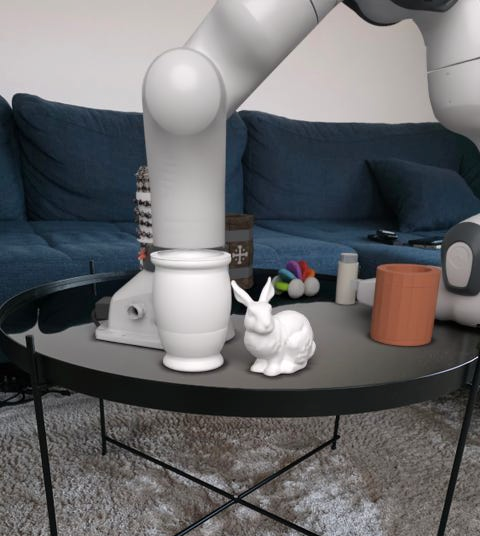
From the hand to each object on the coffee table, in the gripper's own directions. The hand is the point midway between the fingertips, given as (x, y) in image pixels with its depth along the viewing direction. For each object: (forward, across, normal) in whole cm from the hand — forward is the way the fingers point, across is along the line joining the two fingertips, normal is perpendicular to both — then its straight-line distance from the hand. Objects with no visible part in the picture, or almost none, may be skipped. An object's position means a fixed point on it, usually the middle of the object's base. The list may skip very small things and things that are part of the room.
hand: (368, 280), depth 114 cm
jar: (-7, +47, +5) cm, 48 cm away
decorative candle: (+30, +28, +5) cm, 41 cm away
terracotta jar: (-17, +13, +5) cm, 23 cm away
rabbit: (-15, +40, +5) cm, 44 cm away
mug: (+36, +10, +5) cm, 38 cm away
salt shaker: (+5, 0, +5) cm, 7 cm away
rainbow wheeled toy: (+17, +3, +5) cm, 18 cm away
